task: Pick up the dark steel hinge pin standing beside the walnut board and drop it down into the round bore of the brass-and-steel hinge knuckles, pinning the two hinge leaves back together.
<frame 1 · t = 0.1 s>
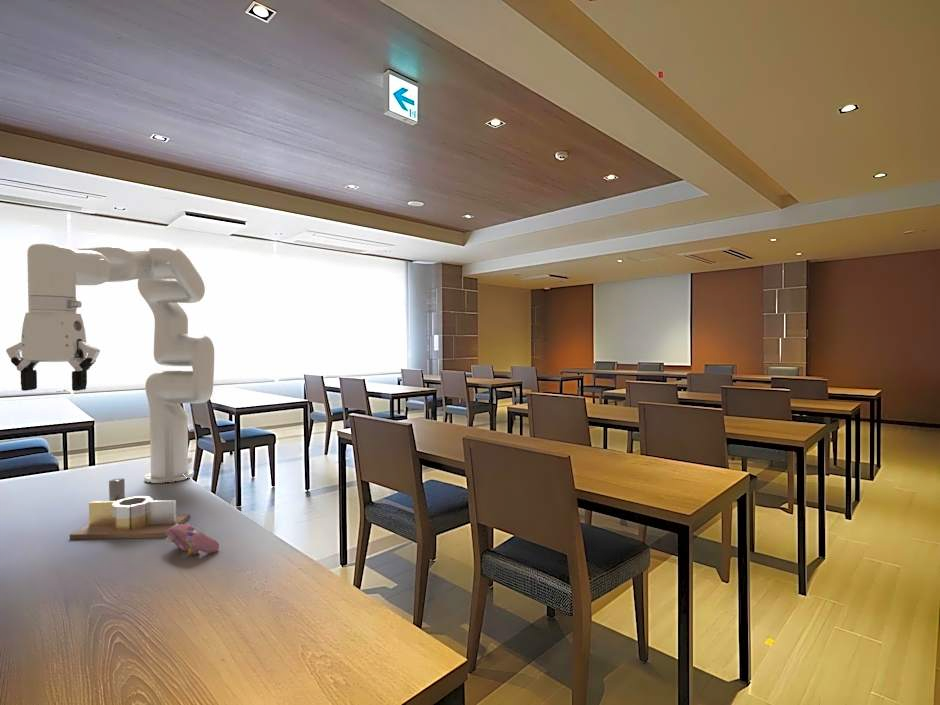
hand: (54, 390, 104), 31 cm above the table, tool pointing down, fingers open, 9 cm apart
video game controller: (191, 552, 100), on the table
hinge pin: (117, 513, 120), on the table
hinge: (133, 512, 111), on the mounting board, point 4 cm above the table
mounting board: (133, 528, 111), on the table
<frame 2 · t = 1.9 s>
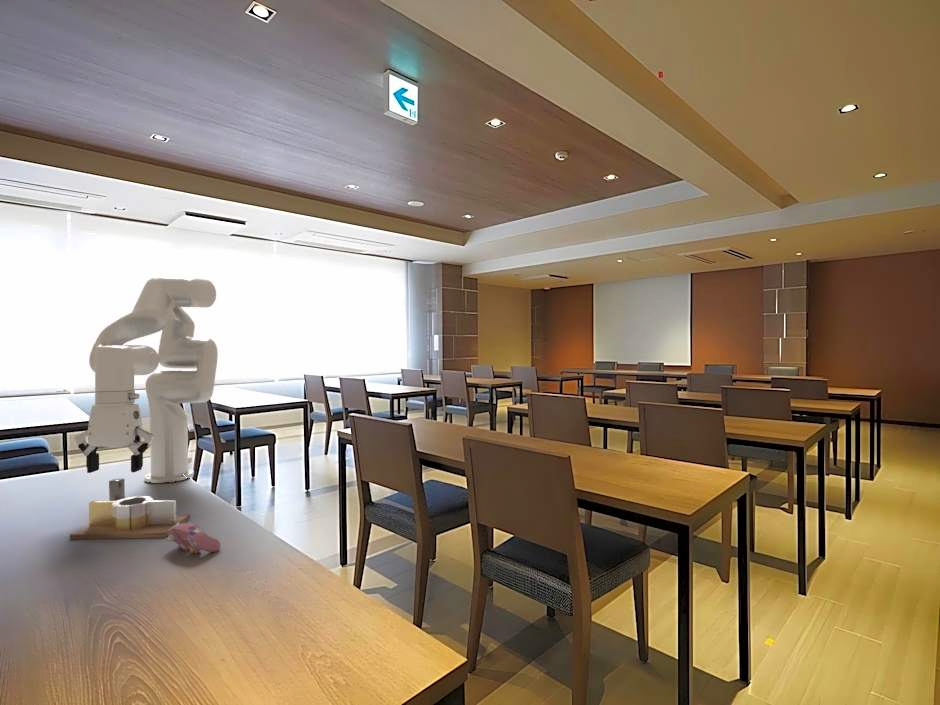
hand: (114, 471, 119), 10 cm above the table, tool pointing down, fingers open, 9 cm apart
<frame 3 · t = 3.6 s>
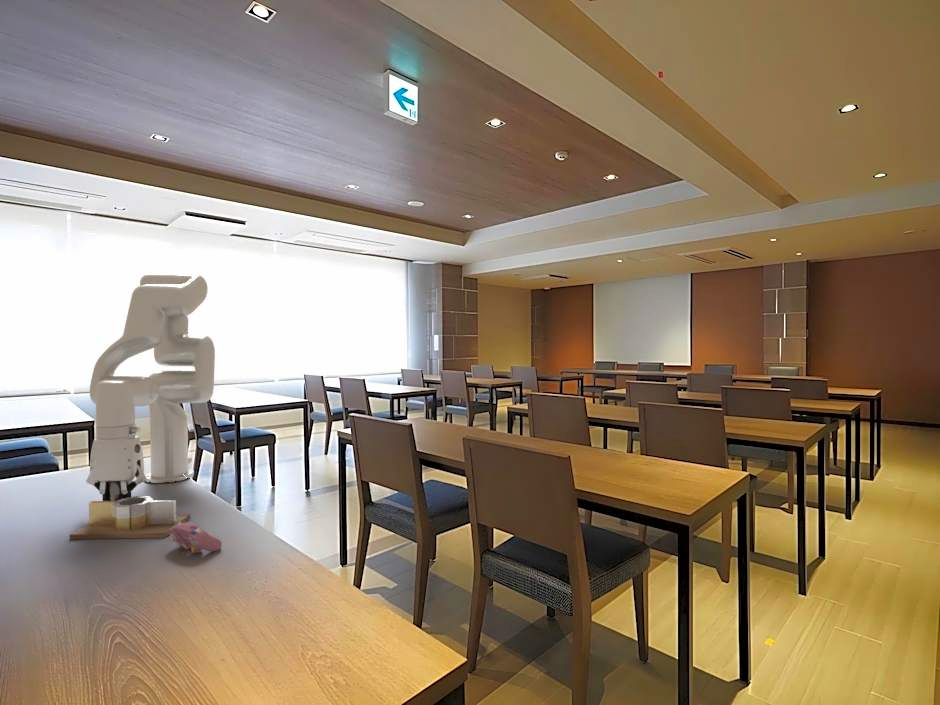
hand: (117, 508, 120), 1 cm above the table, tool pointing down, fingers closed on hinge pin, 2 cm apart
hinge pin: (117, 513, 120), on the table, touching gripper
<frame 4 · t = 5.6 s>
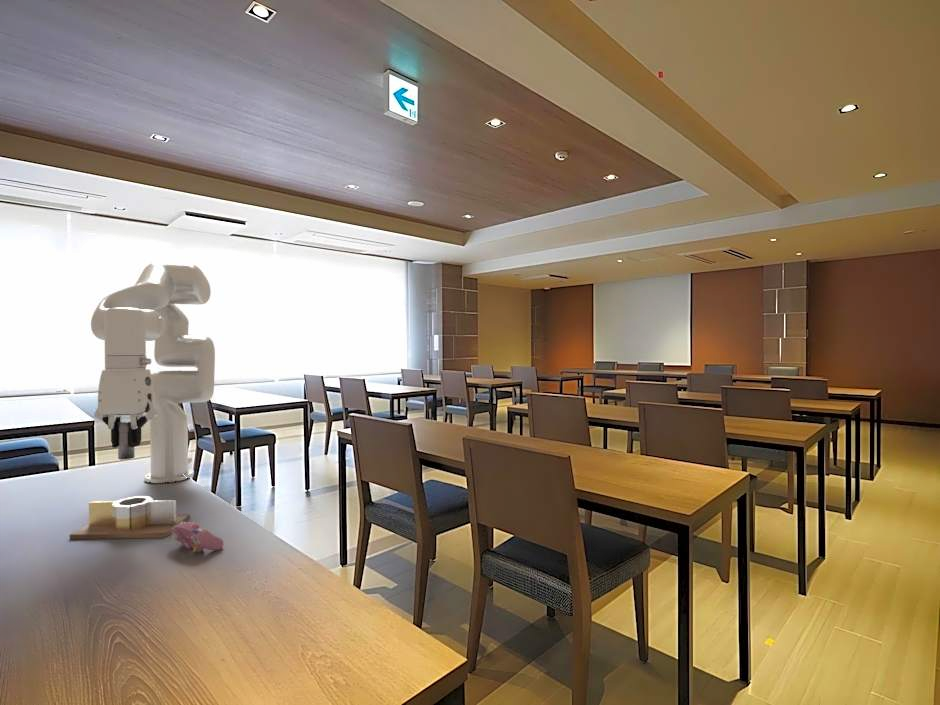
hand: (126, 445, 112), 18 cm above the table, tool pointing down, fingers closed on hinge pin, 2 cm apart
hinge pin: (126, 458, 112), point 15 cm above the table, touching gripper
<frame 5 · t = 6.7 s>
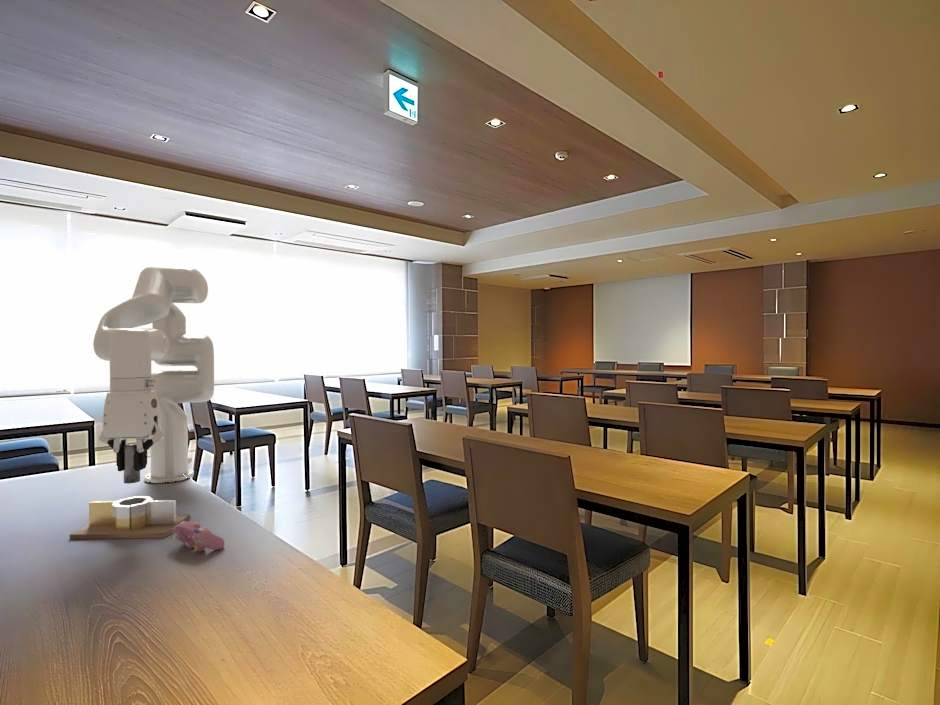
hand: (132, 468, 110), 13 cm above the table, tool pointing down, fingers closed on hinge pin, 2 cm apart
hinge pin: (131, 481, 110), point 10 cm above the table, touching gripper
when the fingers open (9 cm above the table, at t = 7.6 s): hinge pin drops 5 cm, resting on mounting board.
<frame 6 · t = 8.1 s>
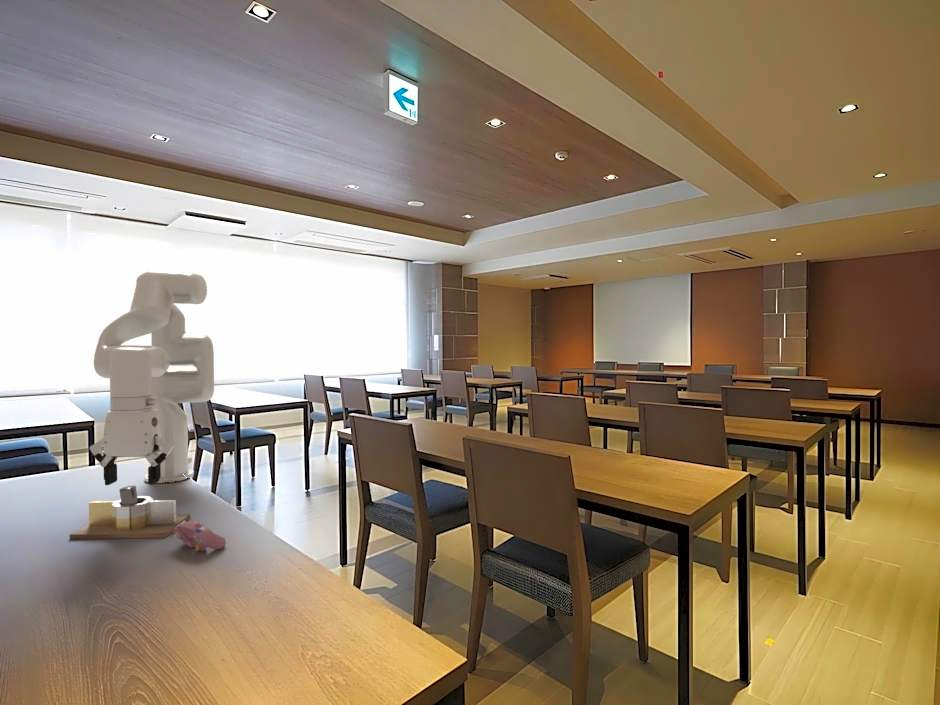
hand: (132, 482, 111), 10 cm above the table, tool pointing down, fingers open, 8 cm apart
hinge pin: (132, 523, 111), point 1 cm above the table, tilted 6°, touching mounting board
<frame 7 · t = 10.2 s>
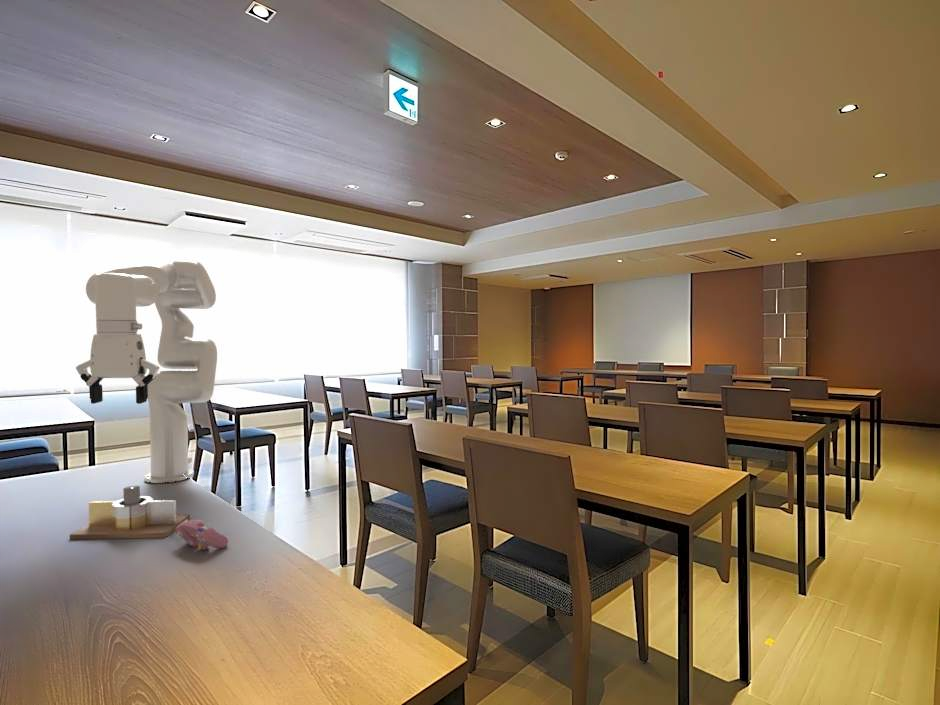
hand: (119, 402, 116), 27 cm above the table, tool pointing down, fingers open, 9 cm apart
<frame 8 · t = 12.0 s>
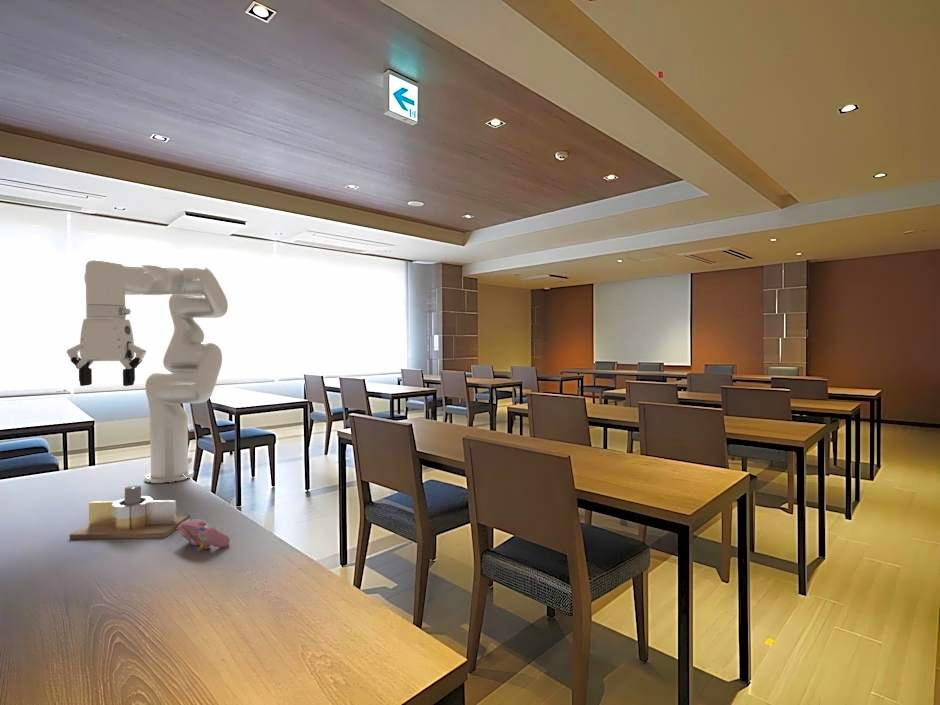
hand: (107, 385, 120), 30 cm above the table, tool pointing down, fingers open, 9 cm apart
at the end: hinge pin 0.1 cm off-centre on the hinge, point 1.0 cm above the hinge's base; hinge pin tilted 1°; the gripper is holding nothing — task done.
